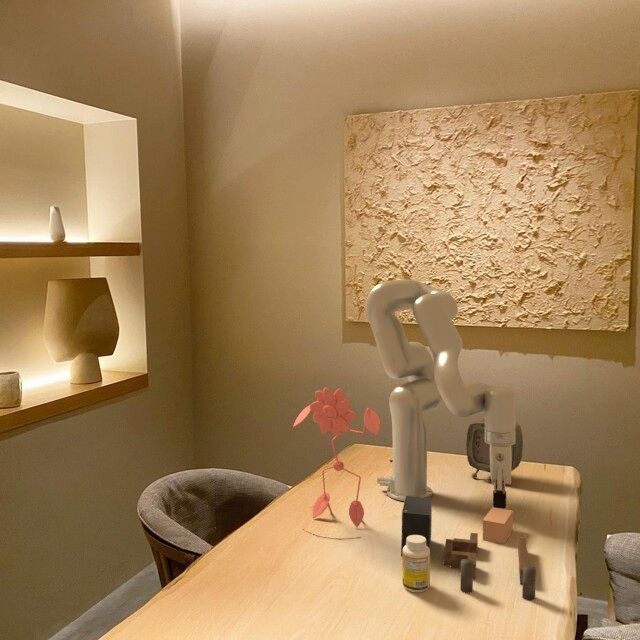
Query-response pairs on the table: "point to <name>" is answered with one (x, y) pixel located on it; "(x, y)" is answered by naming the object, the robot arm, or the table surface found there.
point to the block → (497, 525)
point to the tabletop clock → (488, 448)
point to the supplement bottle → (416, 564)
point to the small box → (416, 519)
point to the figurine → (334, 418)
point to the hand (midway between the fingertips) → (499, 506)
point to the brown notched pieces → (464, 558)
